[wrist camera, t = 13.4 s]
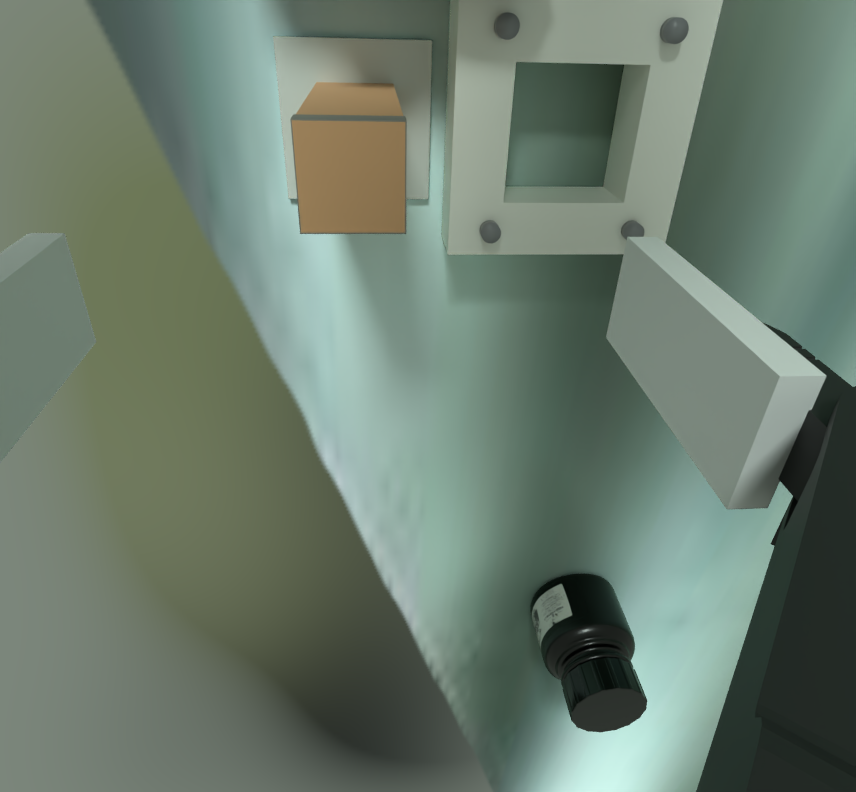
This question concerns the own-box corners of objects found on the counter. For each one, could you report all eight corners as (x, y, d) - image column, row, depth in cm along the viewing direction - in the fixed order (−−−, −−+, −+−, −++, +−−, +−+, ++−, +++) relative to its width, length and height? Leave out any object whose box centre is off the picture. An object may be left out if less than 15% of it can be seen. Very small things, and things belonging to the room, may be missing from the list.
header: (450, -12, 34) (461, -13, 30) (690, -4, 36) (731, -4, 32) (441, 234, 42) (449, 259, 38) (639, 234, 43) (667, 258, 39)
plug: (315, 81, 36) (290, 119, 24) (394, 82, 36) (406, 120, 25) (321, 163, 38) (300, 233, 27) (394, 163, 39) (406, 233, 27)
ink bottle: (531, 571, 61) (564, 683, 51) (618, 563, 62) (667, 672, 52) (526, 633, 66) (555, 745, 56) (607, 625, 67) (649, 735, 57)
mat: (274, 36, 35) (273, 36, 35) (431, 39, 36) (432, 40, 35) (289, 196, 40) (288, 198, 39) (427, 197, 41) (428, 199, 40)
